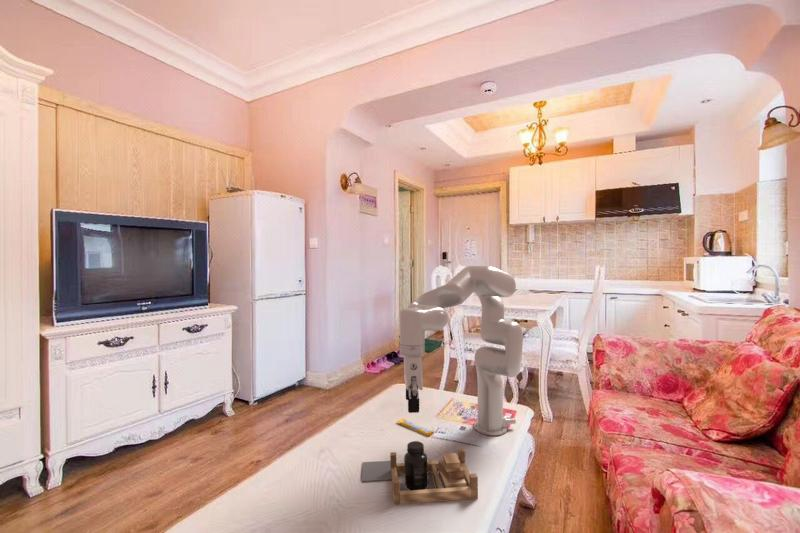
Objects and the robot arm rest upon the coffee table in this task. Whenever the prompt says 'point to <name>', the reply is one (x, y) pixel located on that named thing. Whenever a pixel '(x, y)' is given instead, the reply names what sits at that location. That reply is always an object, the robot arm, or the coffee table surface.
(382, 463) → the mat
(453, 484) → the offcut
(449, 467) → the offcut
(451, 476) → the offcut
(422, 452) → the supplement bottle
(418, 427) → the candy bar
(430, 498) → the rack
